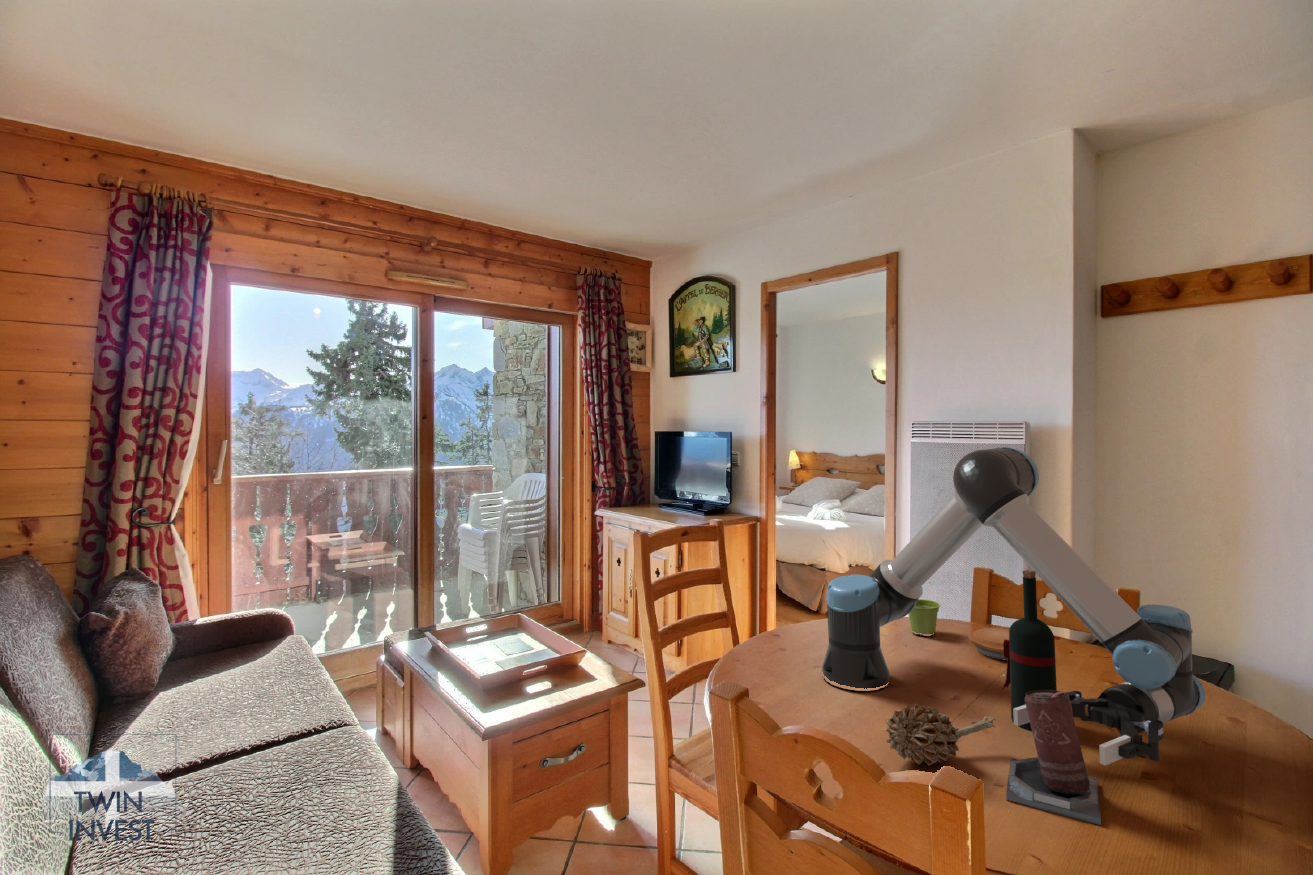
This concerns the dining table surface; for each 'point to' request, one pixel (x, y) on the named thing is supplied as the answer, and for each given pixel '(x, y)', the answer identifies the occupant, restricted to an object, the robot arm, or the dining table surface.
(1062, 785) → the can
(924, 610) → the plant pot
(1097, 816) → the cup holder
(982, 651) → the pie
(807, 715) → the dining table surface
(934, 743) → the pine cone
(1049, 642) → the wine bottle
